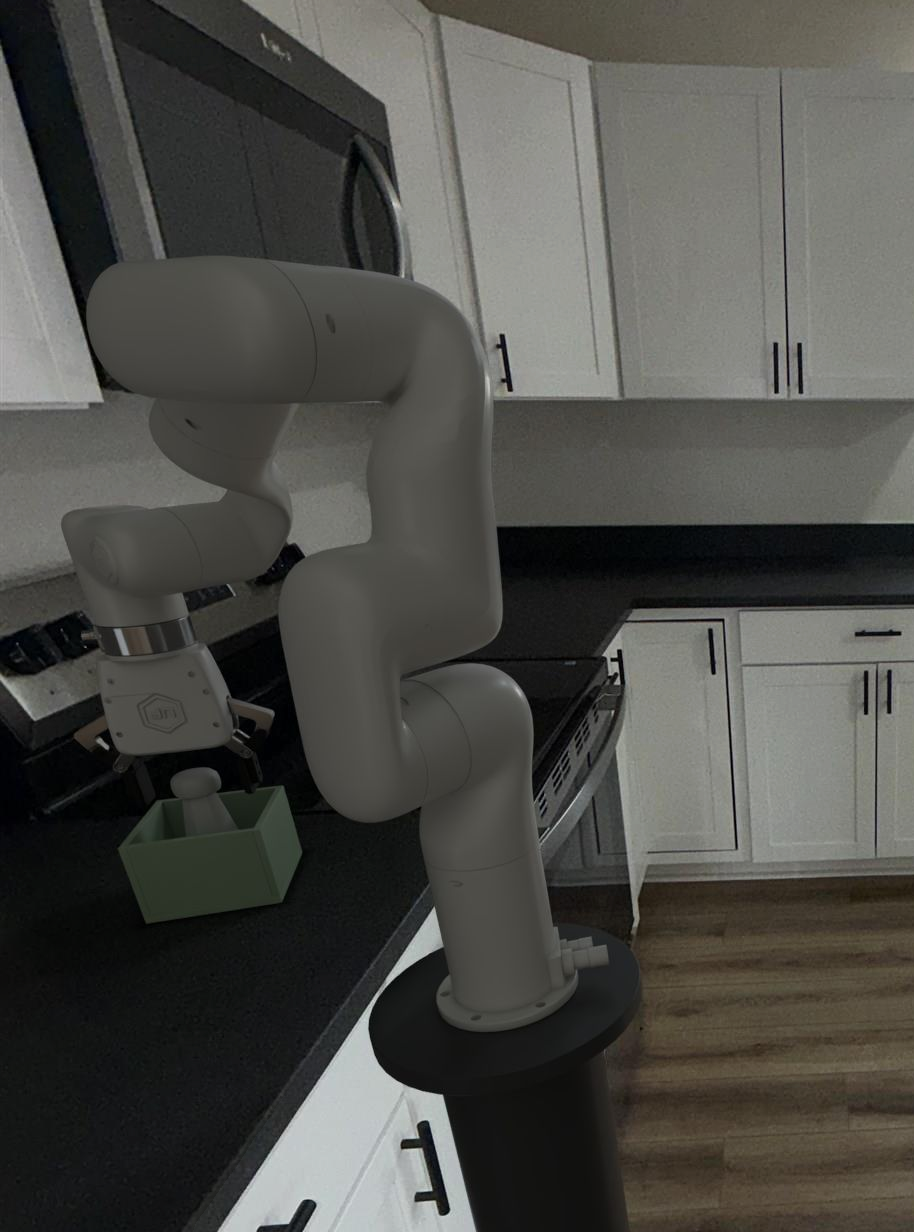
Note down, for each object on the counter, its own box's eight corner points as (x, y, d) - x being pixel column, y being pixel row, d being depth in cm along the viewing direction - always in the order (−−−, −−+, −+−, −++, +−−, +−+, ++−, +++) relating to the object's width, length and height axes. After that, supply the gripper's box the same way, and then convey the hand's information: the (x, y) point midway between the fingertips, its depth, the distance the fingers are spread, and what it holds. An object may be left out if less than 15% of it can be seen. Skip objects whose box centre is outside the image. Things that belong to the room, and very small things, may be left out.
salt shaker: (187, 883, 101) (149, 774, 96) (243, 862, 106) (209, 757, 100) (211, 898, 98) (173, 786, 93) (267, 876, 103) (234, 769, 97)
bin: (302, 852, 110) (283, 785, 106) (282, 902, 99) (259, 829, 95) (180, 870, 106) (156, 800, 102) (145, 924, 95) (117, 848, 92)
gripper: (25, 655, 85) (90, 822, 92) (240, 638, 90) (286, 797, 97) (58, 636, 91) (116, 794, 98) (257, 621, 97) (299, 772, 104)
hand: (201, 795), depth 98 cm, fingers open, 9 cm apart
